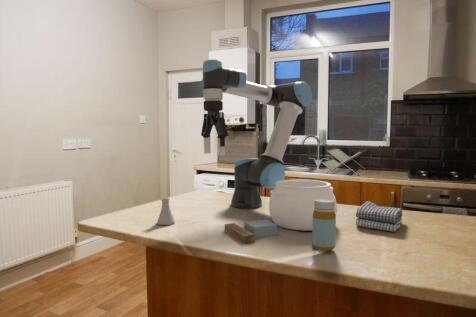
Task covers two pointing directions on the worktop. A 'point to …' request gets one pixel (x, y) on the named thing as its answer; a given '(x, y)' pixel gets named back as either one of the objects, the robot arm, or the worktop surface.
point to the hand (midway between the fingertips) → (214, 154)
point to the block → (240, 233)
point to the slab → (261, 228)
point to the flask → (165, 213)
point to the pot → (297, 202)
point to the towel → (378, 217)
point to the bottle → (324, 224)
